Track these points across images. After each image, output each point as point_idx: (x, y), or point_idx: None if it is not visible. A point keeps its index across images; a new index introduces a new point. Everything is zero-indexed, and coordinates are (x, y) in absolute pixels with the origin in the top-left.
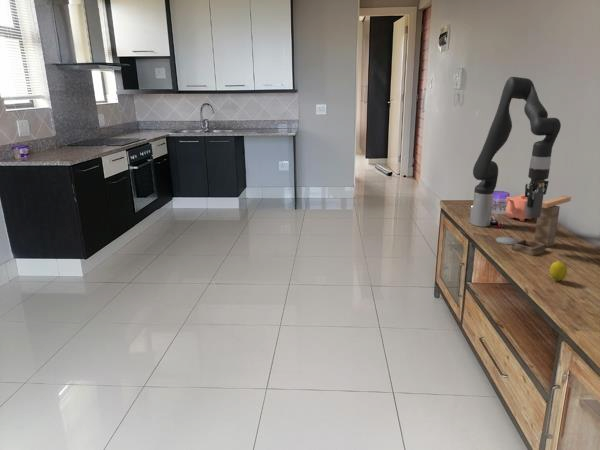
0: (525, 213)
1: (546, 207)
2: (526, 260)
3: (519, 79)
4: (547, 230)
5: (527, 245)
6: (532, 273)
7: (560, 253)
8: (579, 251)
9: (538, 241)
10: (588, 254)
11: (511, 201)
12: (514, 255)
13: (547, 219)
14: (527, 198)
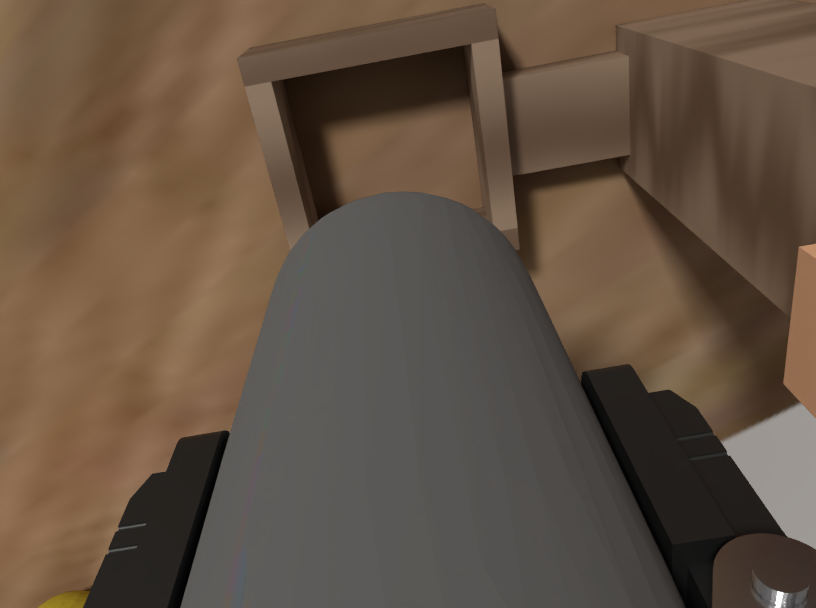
0: (287, 263)
1: (801, 391)
2: (168, 311)
3: None
4: (692, 210)
5: (467, 71)
6: (26, 482)
7: (569, 316)
8: (743, 345)
9: (630, 83)
10: (723, 409)
11: None
12: (154, 184)
13: (772, 247)
14: (229, 501)
